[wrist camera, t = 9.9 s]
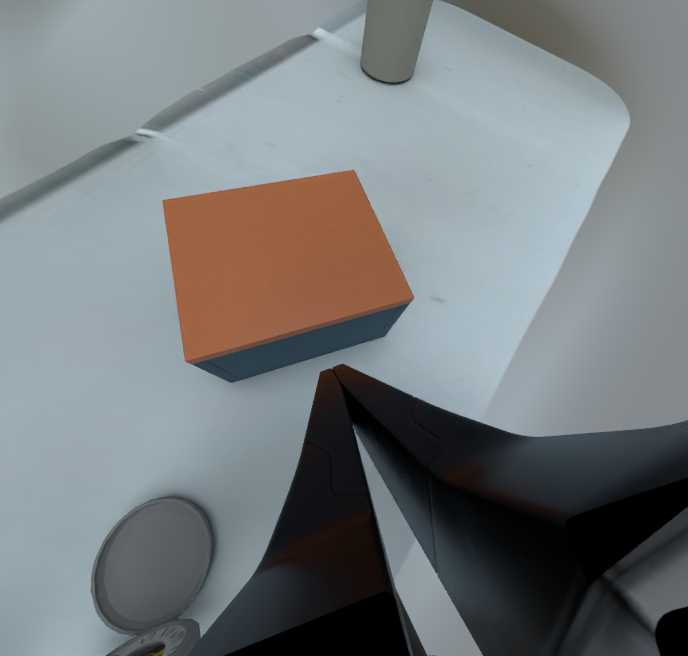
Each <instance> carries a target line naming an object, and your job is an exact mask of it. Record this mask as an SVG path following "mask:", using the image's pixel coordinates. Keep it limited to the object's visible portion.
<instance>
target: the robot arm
mask: <svg viewBox="0 0 688 656" xmlns="http://www.w3.org/2000/svg"><path fill="white" fill-rule="evenodd" d="M353 428H354V429H355V431H356V433H357V435H358V437H359V439H360V440H361V442H362V444H363V446H364V447H365V449H366V451H367V453H368V454H369V456H370V458H371V460H372V461H373V463H374V465H375V467H376V468H377V470H378V472H379V474H380V475H381V477H382V479H383V481H384V482H385V484H386V486H387V488H388V489H389V491H390V493H391V495H392V496H393V498H394V500H395V502H396V503H397V505H398V507H399V509H400V510H401V512H402V514H403V516H404V517H405V519H406V521H407V523H408V524H409V526H410V528H411V530H412V531H413V533H414V535H415V537H416V538H417V540H418V542H419V544H420V545H421V547H422V549H423V551H424V553H425V554H426V556H427V558H428V559H429V561H430V563H431V565H432V566H433V568H434V570H435V572H436V573H437V574H438V577H439V579H440V581H441V582H442V584H443V586H444V588H445V589H446V591H447V593H448V595H449V596H450V598H451V600H452V602H453V603H454V605H455V607H456V609H457V610H458V612H459V613H460V616H461V618H462V619H463V621H464V623H465V625H466V626H467V628H468V630H469V631H470V633H471V635H472V637H473V639H474V640H475V642H476V644H477V646H478V647H479V649H480V651H481V652H482V654H483V656H688V420H686V421H684V422H680V423H676V424H672V425H666V426H661V427H654V428H646V429H637V430H636V429H635V430H623V431H611V432H598V433H585V434H572V435H561V436H547V437H529V436H522V435H518V434H513V433H510V432H506V431H503V430H501V429H498V428H495V427H492V426H489V425H486V424H483V423H480V422H477V421H475V420H472V419H469V418H466V417H463V416H460V415H457V414H455V413H452V412H449V411H447V410H444V409H441V408H439V407H436V406H434V405H432V404H429V403H427V402H425V401H423V400H420V399H418V398H416V397H413V396H412V395H409V394H407V393H405V392H403V391H401V390H399V389H396V388H394V387H392V386H390V385H388V384H386V383H383V382H381V381H379V380H377V379H375V378H372V377H370V376H368V375H366V374H364V373H362V372H359V371H357V370H355V369H353V368H351V367H349V366H346V365H344V364H341V365H338V366H335V367H333V368H332V369H331V368H330V369H327V370H324V371H321V372H320V376H319V380H318V384H317V388H316V392H315V397H314V401H313V405H312V409H311V413H310V418H309V422H308V426H307V430H306V435H305V439H304V443H303V447H302V451H301V455H300V459H299V462H298V466H297V469H296V472H295V475H294V478H293V481H292V484H291V487H290V490H289V492H288V495H287V498H286V500H285V503H284V506H283V508H282V511H281V513H280V516H279V519H278V521H277V524H276V527H275V529H274V532H273V535H272V537H271V540H270V542H269V545H268V548H267V550H266V552H265V554H264V556H263V558H262V561H261V562H260V564H259V566H258V568H257V569H256V571H255V573H254V574H253V576H252V577H251V579H250V580H249V581H248V582H247V584H246V585H245V586H244V587H243V588H242V590H241V591H240V592H239V593H238V594H237V596H236V597H235V598H234V599H233V600H232V602H231V603H230V604H229V605H228V606H227V608H226V609H225V610H224V611H223V612H222V614H221V615H220V616H219V617H218V618H217V620H216V621H215V622H214V623H213V624H212V626H211V627H210V628H209V629H208V630H207V632H206V633H205V634H204V635H203V636H202V638H201V639H200V640H199V641H198V642H197V644H196V645H195V646H194V647H193V648H192V650H191V651H190V652H189V653H188V654H187V656H413V653H412V649H411V645H410V641H409V638H408V634H407V630H406V626H405V622H404V619H403V615H402V611H401V607H400V603H399V600H398V596H397V592H396V588H395V584H394V581H393V577H392V573H391V569H390V565H389V562H388V558H387V554H386V550H385V546H384V543H383V539H382V535H381V531H380V528H379V524H378V520H377V516H376V512H375V509H374V505H373V501H372V497H371V493H370V490H369V486H368V482H367V478H366V474H365V471H364V467H363V463H362V459H361V455H360V452H359V448H358V444H357V440H356V436H355V433H354V429H353Z"/></svg>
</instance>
